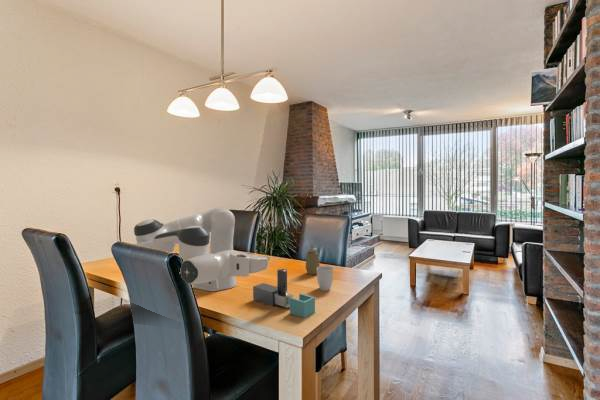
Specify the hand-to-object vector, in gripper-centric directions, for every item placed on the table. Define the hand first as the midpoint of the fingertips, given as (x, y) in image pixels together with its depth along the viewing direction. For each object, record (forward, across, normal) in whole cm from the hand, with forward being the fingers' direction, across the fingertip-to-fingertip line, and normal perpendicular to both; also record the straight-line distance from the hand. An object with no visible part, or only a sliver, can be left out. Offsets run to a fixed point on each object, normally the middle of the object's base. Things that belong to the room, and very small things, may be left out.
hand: (259, 256), depth 114 cm
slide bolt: (+13, -5, -22) cm, 26 cm away
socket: (+13, +11, -23) cm, 28 cm away
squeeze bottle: (+58, -18, -22) cm, 64 cm away
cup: (+42, +2, -22) cm, 47 cm away
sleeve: (+13, -9, -23) cm, 28 cm away
